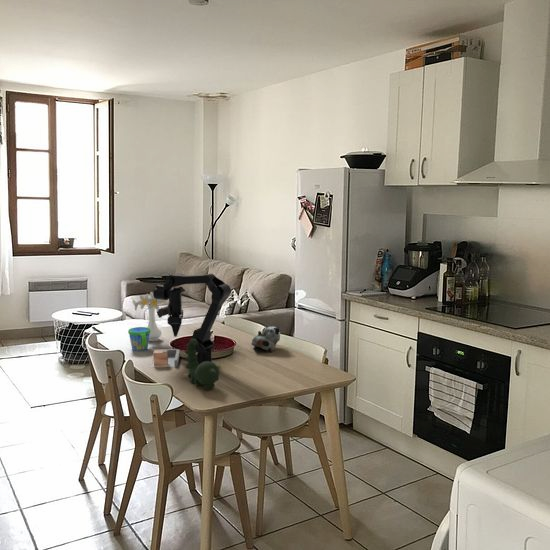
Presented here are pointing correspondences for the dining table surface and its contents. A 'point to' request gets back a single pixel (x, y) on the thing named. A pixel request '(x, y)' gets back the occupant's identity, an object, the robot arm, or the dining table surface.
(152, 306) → the flower vase
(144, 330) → the snack cup
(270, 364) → the dining table surface
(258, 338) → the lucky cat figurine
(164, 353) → the terracotta block
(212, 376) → the toy figurine
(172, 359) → the two-wall tray
